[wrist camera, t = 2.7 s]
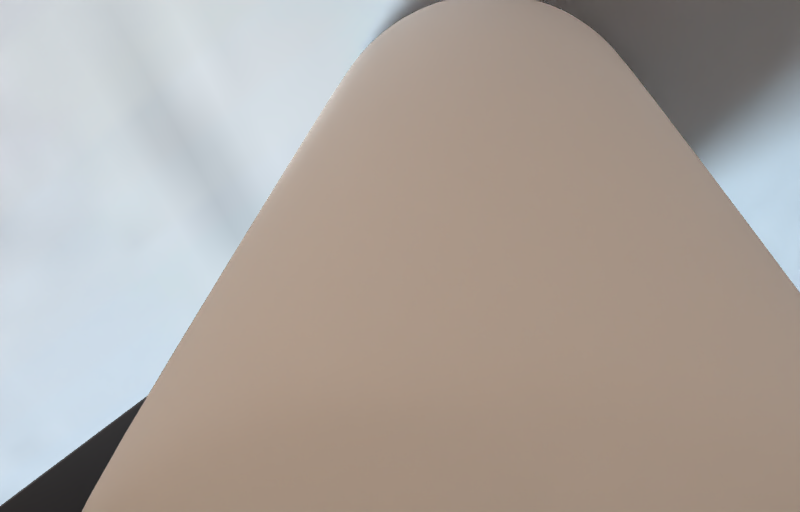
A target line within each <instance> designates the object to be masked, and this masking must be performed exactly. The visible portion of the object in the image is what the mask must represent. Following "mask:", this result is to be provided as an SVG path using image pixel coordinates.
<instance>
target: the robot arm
mask: <svg viewBox="0 0 800 512" xmlns="http://www.w3.org/2000/svg"><path fill="white" fill-rule="evenodd" d="M146 398H147V397H145V398H144V399H143V400H141V401H140V402H139V403H137V404H136V405H135V406H133V407H132V408H131V409H129V410H128V411H127V412H125V413H124V414H123V415H121V416H120V417H119V418H117V419H116V420H115V421H113V422H112V423H111V424H109V425H108V426H106V427H105V428H104V429H102V430H101V431H100V432H98V433H97V434H96V435H94V436H93V437H92V438H90V439H89V440H88V441H86V442H85V443H84V444H82V445H81V446H80V447H78V448H77V449H76V450H74V451H73V452H72V453H70V454H69V455H68V456H66V457H65V458H64V459H62V460H61V461H60V462H58V463H57V464H56V465H54V466H53V467H52V468H50V469H49V470H48V471H46V472H45V473H44V474H42V475H41V476H40V477H38V478H37V479H36V480H34V481H33V482H32V483H30V484H29V485H28V486H26V487H25V488H24V489H22V490H21V491H20V492H18V493H17V494H16V495H14V496H13V497H12V498H10V499H9V500H8V501H6V502H5V503H4V504H2V505H1V506H0V512H82V510H83V508H84V506H85V504H86V502H87V500H88V498H89V496H90V495H91V493H92V491H93V489H94V488H95V486H96V484H97V482H98V481H99V479H100V477H101V475H102V473H103V472H104V470H105V468H106V466H107V465H108V463H109V461H110V459H111V458H112V456H113V454H114V452H115V450H116V449H117V447H118V445H119V443H120V442H121V440H122V438H123V436H124V435H125V433H126V431H127V430H128V428H129V426H130V425H131V423H132V421H133V420H134V418H135V416H136V415H137V413H138V411H139V410H140V408H141V406H142V405H143V403H144V401H145V400H146Z"/></svg>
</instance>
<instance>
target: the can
mask: <svg viewBox="0 0 800 512" xmlns="http://www.w3.org/2000/svg"><path fill="white" fill-rule="evenodd" d="M82 512H800V292H799V291H798V290H797V288H796V287H795V286H794V284H793V283H792V282H791V280H790V279H789V278H788V276H787V275H786V274H785V272H784V271H783V270H782V268H781V267H780V266H779V264H778V263H777V262H776V260H775V259H774V258H773V256H772V255H771V254H770V252H769V251H768V250H767V248H766V247H765V246H764V244H763V243H762V242H761V240H760V239H759V238H758V236H757V235H756V234H755V232H754V231H753V230H752V228H751V227H750V226H749V224H748V223H747V222H746V220H745V219H744V218H743V216H742V215H741V214H740V212H739V211H738V210H737V208H736V207H735V206H734V204H733V203H732V202H731V200H730V199H729V198H728V196H727V195H726V194H725V192H724V191H723V190H722V188H721V187H720V186H719V184H718V183H717V182H716V180H715V179H714V178H713V177H712V175H711V174H710V173H709V171H708V170H707V169H706V167H705V166H704V165H703V163H702V162H701V161H700V159H699V158H698V157H697V155H696V154H695V153H694V151H693V150H692V149H691V147H690V146H689V145H688V143H687V142H686V141H685V140H684V138H683V137H682V136H681V134H680V133H679V132H678V130H677V129H676V128H675V126H674V125H673V124H672V122H671V121H670V120H669V118H668V117H667V116H666V115H665V113H664V112H663V111H662V109H661V108H660V107H659V105H658V104H657V103H656V101H655V100H654V99H653V98H652V96H651V95H650V94H649V92H648V91H647V90H646V89H645V87H644V86H643V85H642V83H641V82H640V81H639V79H638V78H637V77H636V76H635V74H634V73H633V72H632V71H631V69H630V68H629V67H628V66H627V64H626V63H625V62H624V61H623V59H622V58H621V57H620V56H619V55H618V53H617V52H616V51H615V50H614V49H613V48H612V47H611V46H610V45H609V44H608V42H607V41H605V40H604V39H603V38H602V37H601V36H600V35H599V34H598V33H597V32H595V31H594V30H593V29H592V28H590V27H589V26H588V25H586V24H585V23H583V22H582V21H580V20H579V19H577V18H576V17H574V16H572V15H571V14H569V13H567V12H565V11H563V10H561V9H559V8H556V7H554V6H551V5H549V4H546V3H543V2H540V1H537V0H444V1H441V2H438V3H435V4H432V5H429V6H427V7H424V8H422V9H420V10H418V11H416V12H413V13H411V14H410V15H408V16H406V17H404V18H403V19H401V20H399V21H398V22H396V23H395V24H393V25H392V26H391V27H389V28H388V29H387V30H385V31H384V32H383V33H382V34H380V35H379V36H378V37H377V38H376V39H375V40H374V41H373V42H372V43H371V44H370V45H369V46H368V47H367V48H366V49H365V50H364V51H363V52H362V53H361V54H360V56H359V57H358V58H357V59H356V61H355V62H354V63H353V65H352V66H351V67H350V69H349V70H348V72H347V73H346V74H345V76H344V77H343V79H342V80H341V82H340V84H339V85H338V87H337V88H336V90H335V91H334V93H333V94H332V96H331V98H330V99H329V101H328V102H327V104H326V105H325V107H324V109H323V110H322V112H321V113H320V115H319V117H318V118H317V120H316V121H315V123H314V125H313V126H312V128H311V129H310V131H309V133H308V134H307V136H306V137H305V139H304V141H303V142H302V144H301V145H300V147H299V149H298V150H297V152H296V154H295V155H294V157H293V158H292V160H291V162H290V163H289V165H288V166H287V168H286V170H285V171H284V173H283V175H282V176H281V178H280V179H279V181H278V183H277V184H276V186H275V188H274V189H273V191H272V192H271V194H270V196H269V197H268V199H267V201H266V202H265V204H264V205H263V207H262V209H261V210H260V212H259V214H258V215H257V217H256V218H255V220H254V222H253V223H252V225H251V227H250V228H249V230H248V231H247V233H246V235H245V236H244V238H243V240H242V241H241V243H240V244H239V246H238V248H237V249H236V251H235V253H234V254H233V256H232V258H231V259H230V261H229V262H228V264H227V266H226V267H225V269H224V271H223V272H222V274H221V276H220V277H219V279H218V281H217V282H216V284H215V285H214V287H213V289H212V290H211V292H210V294H209V295H208V297H207V299H206V300H205V302H204V303H203V305H202V307H201V308H200V310H199V312H198V313H197V315H196V317H195V318H194V320H193V322H192V323H191V325H190V326H189V328H188V330H187V331H186V333H185V335H184V336H183V338H182V340H181V341H180V343H179V345H178V346H177V348H176V349H175V351H174V353H173V354H172V356H171V358H170V359H169V361H168V363H167V364H166V366H165V368H164V370H163V371H162V373H161V375H160V376H159V378H158V380H157V381H156V383H155V385H154V386H153V388H152V390H151V391H150V393H149V395H148V396H147V398H146V400H145V401H144V403H143V405H142V406H141V408H140V410H139V411H138V413H137V415H136V416H135V418H134V420H133V421H132V423H131V425H130V426H129V428H128V430H127V431H126V433H125V435H124V436H123V438H122V440H121V442H120V443H119V445H118V447H117V449H116V450H115V452H114V454H113V456H112V458H111V459H110V461H109V463H108V465H107V466H106V468H105V470H104V472H103V473H102V475H101V477H100V479H99V481H98V482H97V484H96V486H95V488H94V489H93V491H92V493H91V495H90V496H89V498H88V500H87V502H86V504H85V506H84V508H83V510H82Z"/></svg>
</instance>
